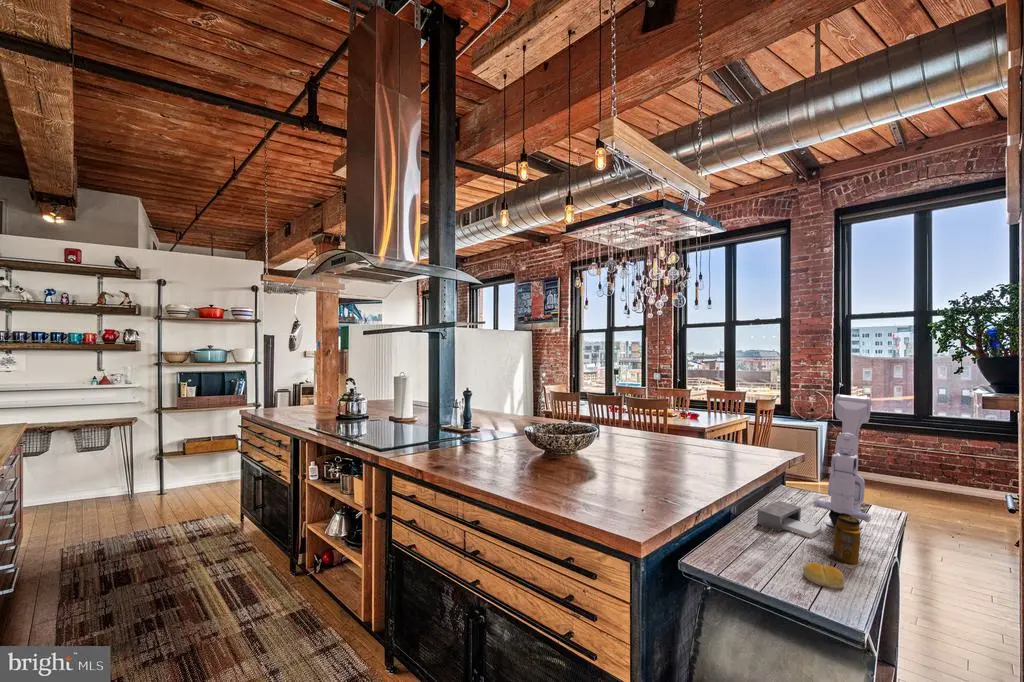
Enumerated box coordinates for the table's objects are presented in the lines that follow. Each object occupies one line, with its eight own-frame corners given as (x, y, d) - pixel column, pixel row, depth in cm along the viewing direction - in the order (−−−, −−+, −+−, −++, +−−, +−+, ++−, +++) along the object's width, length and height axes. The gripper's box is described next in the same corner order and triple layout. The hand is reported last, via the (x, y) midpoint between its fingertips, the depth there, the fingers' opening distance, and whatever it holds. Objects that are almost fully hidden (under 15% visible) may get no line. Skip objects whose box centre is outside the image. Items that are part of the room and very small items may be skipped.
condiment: (864, 562, 136) (867, 520, 135) (851, 569, 131) (854, 526, 130) (835, 551, 142) (838, 511, 141) (822, 558, 137) (825, 516, 137)
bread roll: (803, 569, 130) (804, 554, 130) (843, 580, 125) (844, 565, 125) (802, 582, 123) (803, 566, 123) (844, 594, 118) (845, 578, 118)
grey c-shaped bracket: (778, 514, 169) (779, 500, 169) (799, 521, 163) (800, 507, 163) (756, 524, 159) (757, 509, 159) (779, 532, 154) (780, 516, 153)
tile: (778, 520, 165) (778, 514, 165) (820, 534, 155) (820, 528, 155) (767, 525, 160) (767, 519, 160) (810, 539, 150) (811, 533, 150)
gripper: (811, 488, 150) (808, 531, 151) (866, 503, 139) (863, 549, 139) (819, 484, 155) (817, 526, 155) (874, 498, 143) (871, 543, 144)
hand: (839, 536), depth 147 cm, fingers closed
